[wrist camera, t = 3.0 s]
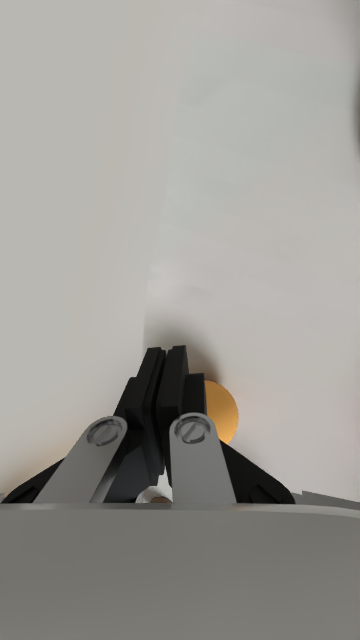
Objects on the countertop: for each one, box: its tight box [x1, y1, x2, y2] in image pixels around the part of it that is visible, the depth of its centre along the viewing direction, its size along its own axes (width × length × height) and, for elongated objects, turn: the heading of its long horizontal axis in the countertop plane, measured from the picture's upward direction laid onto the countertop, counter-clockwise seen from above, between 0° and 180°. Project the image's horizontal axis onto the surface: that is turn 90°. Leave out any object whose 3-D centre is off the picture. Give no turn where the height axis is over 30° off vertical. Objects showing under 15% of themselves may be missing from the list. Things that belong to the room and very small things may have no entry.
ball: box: [205, 380, 238, 444], centre depth 21 cm, size 6×6×6 cm
